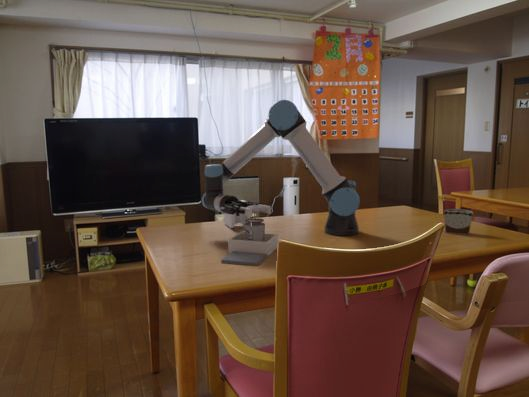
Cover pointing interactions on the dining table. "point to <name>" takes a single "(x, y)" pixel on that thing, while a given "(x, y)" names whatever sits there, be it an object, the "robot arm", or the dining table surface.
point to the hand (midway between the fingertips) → (260, 211)
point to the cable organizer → (234, 219)
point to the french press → (254, 223)
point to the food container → (458, 221)
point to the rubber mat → (244, 258)
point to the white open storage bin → (253, 244)
